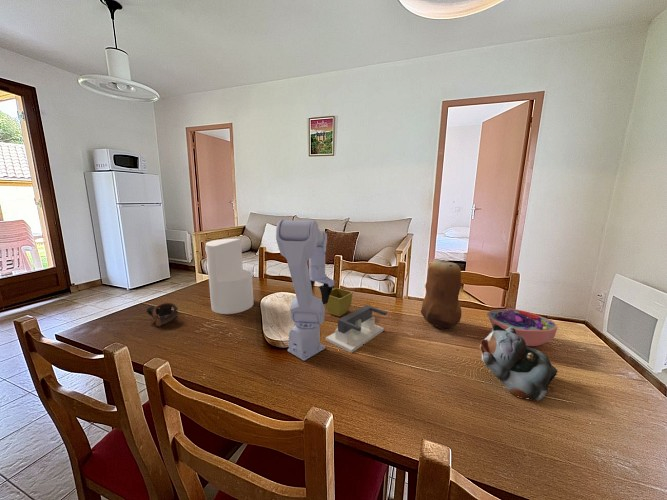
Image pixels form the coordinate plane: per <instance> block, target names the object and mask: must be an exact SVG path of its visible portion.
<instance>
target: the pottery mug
mask: <svg viewBox="0 0 667 500" xmlns="http://www.w3.org/2000/svg"><path fill="white" fill-rule="evenodd" d="M172 308H173V309H172ZM178 309H179V308H178V306H176V304H174V303H173V302H166V301H165V302H162V303H159V304H157V305H156V306H155V305H149V306H148V307H147V308H146V309H145V310H146V314H148V315H149V316H151V317H152V318H153V320H155V326H157V327H161V325H164V324H167V323H169V322H171V321H173V320H174V319H175V318H176V317H177V316H178V315H180V313H179V310H178Z"/></svg>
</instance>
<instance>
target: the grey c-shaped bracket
mask: <svg viewBox="0 0 667 500" xmlns="http://www.w3.org/2000/svg"><path fill="white" fill-rule="evenodd" d="M373 312H375V313H377V314H380V315H383V316H386V315H387V311H385V310H383V309H379V308H376V307H374V306H371V305H368V304H365V305H364V306H362V307H360V308H358V309H356V310H354V311H351V312H350V313H348V314H346V315H344V316H341V317H340V318H338V319H337V328H338V331H339V332H341V333H345V332H347V331H349V330H351V329H354V330H357V331H360V330H361V327H359V326H357V325H355V321H357V320H359V319H361V323H363V322H364V321H366V320H368V319H369V318H371V317H373Z"/></svg>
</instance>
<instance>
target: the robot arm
mask: <svg viewBox="0 0 667 500" xmlns="http://www.w3.org/2000/svg"><path fill="white" fill-rule="evenodd" d="M275 229H276V231H275V239H276V240H275V241H276V244H277V247H278V251H279V253H280V255H281V256H282V257H283V258H285V259H286V263H287V267H288V270H289V274H290V278H291V283H292V285H293V289H294V292H295V297H293V299H292V301H291V304H290V306H289V307H290V308H289V310H290V319H291V321H292V322H293V323H294V327H293V328H292V329H290V330H289V333H288V348H287V352H288V353H291V355H294V356H296V357H297V358H299V359H300V360H302V361H304V362H305V361H307V360H308V359H310V358H311V357H312V358H313V356H315V355H317V354H319V353H320V352H321V351H323V350H325V349H326V346H325V345H324V344H323V343H322V344H321V341H320V340H321V339H320V338H321V336H320V335H321V333H320V331H321V330H320V328H321V327H320V326H321V325H322V324H323V323H324V322H325V315H326V313H325V312H326V309H325V308H326V306H325V304H326V303H328V299H329V296H330V293H331V291H332V290H333V289H334V287H335V280H334V279H332V278H330V277H328V276H327V273H326V252H327V244H328V236H327V235H328V234H327V232H325V231H324V230H320V229H319V224H318V222H317V221H316V220H315V219H314V220H313V219H312V220H295V219H293V220H292V219H291V220H289V219H287V220H286V219H283V218H282V219H280V220H279V221H278V222H277V224H276V228H275ZM315 282H317V283H320V284H322V285H319V287H318V288H319V291H320V294H321V298H319V297H317V296H315V295H314V286H315Z"/></svg>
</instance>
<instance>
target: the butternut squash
mask: <svg viewBox="0 0 667 500" xmlns="http://www.w3.org/2000/svg"><path fill="white" fill-rule="evenodd" d="M461 286H462V270H461V267H460V266H459V264H457V263H454V262H452V261H451V262H450V261H447V260H440V259H438V260H437V259H436V260H434V261H432V262H431V263H430V264H429V266H428V268H427V277H426V282H425V285H424V288H425V291H426V293H425V296H424V299H423V300H422V303H421V310H420V314H421V315H422V317H423V318H424V320H425V321H426V322H427V323H428V324H430V325H432V326H434V327H438V328H439V329H444V328H447V329H449V328H453V327H454V326H456V325H458V324H459V323H460V321H461V320H462V307H461V304H460V300H459V296H460V295H459V294H460V291H461Z"/></svg>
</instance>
